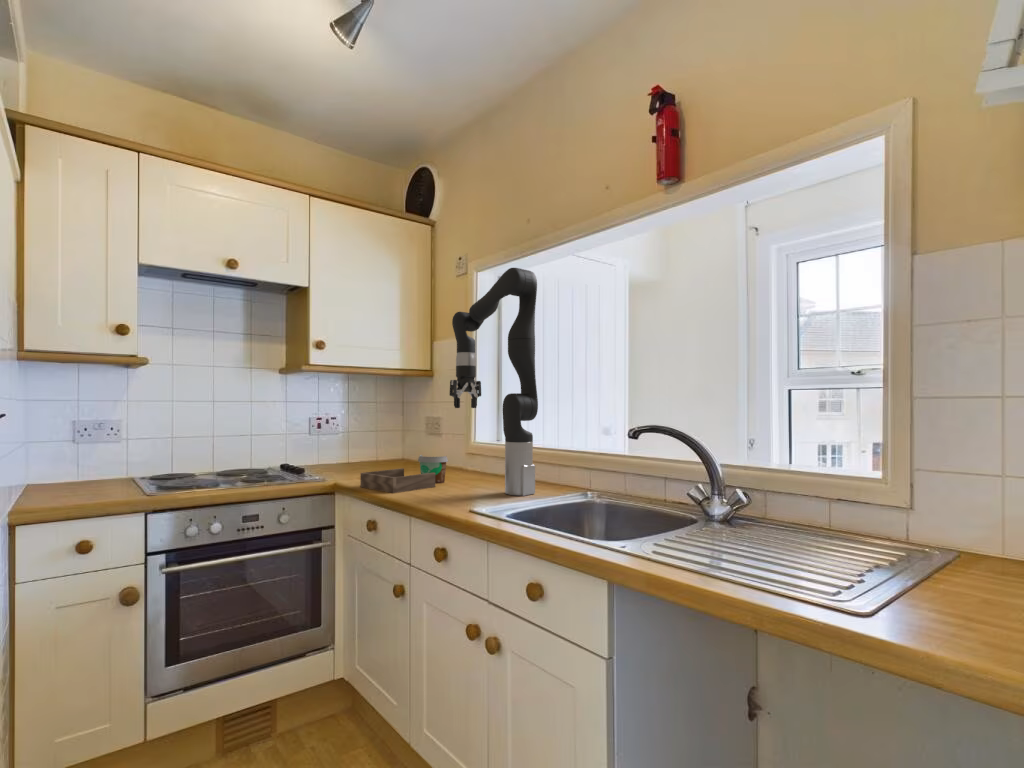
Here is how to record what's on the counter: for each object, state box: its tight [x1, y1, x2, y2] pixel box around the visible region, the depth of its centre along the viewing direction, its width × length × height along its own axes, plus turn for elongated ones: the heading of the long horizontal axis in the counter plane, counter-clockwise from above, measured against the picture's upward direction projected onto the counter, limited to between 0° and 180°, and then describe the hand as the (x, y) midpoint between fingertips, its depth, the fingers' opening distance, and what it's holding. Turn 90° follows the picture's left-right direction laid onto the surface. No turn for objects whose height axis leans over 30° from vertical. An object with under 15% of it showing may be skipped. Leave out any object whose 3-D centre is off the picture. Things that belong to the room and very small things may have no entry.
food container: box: [417, 454, 449, 485], centre depth 203 cm, size 12×6×10 cm, turn 64°
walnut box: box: [359, 467, 436, 494], centre depth 193 cm, size 19×18×5 cm
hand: (465, 408), depth 203 cm, fingers open, 8 cm apart
